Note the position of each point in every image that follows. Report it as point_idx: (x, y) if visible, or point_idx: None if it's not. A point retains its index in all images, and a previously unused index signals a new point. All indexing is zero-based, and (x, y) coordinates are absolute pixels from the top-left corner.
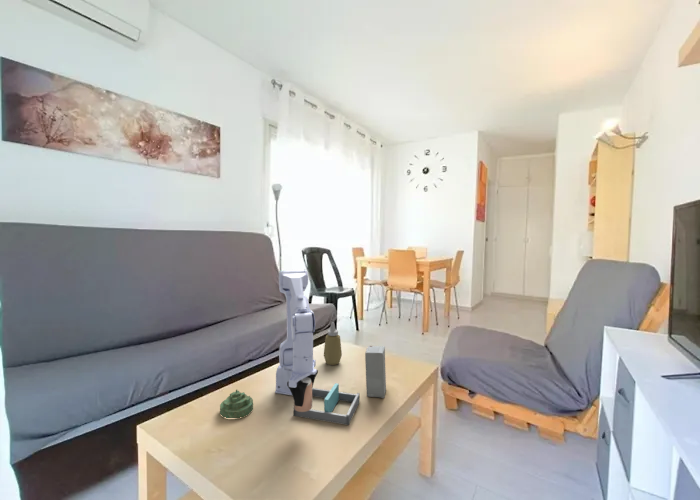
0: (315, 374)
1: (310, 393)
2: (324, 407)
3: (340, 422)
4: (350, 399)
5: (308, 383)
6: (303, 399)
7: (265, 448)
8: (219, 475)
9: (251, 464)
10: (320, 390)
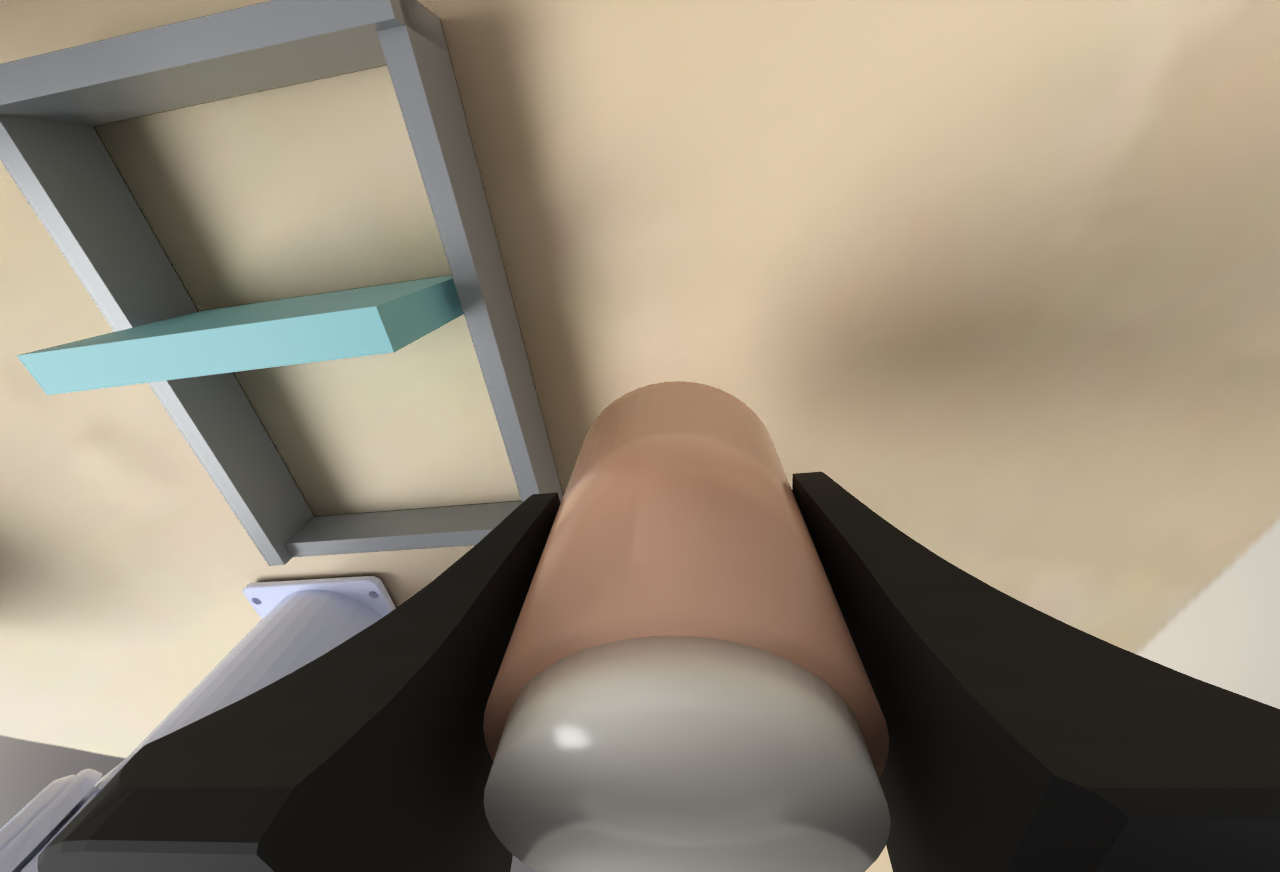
0: (295, 803)
1: (699, 492)
2: (437, 325)
3: (462, 119)
4: (109, 196)
5: (766, 711)
6: (847, 512)
7: (923, 494)
8: (1170, 575)
9: (1078, 489)
10: (237, 486)
